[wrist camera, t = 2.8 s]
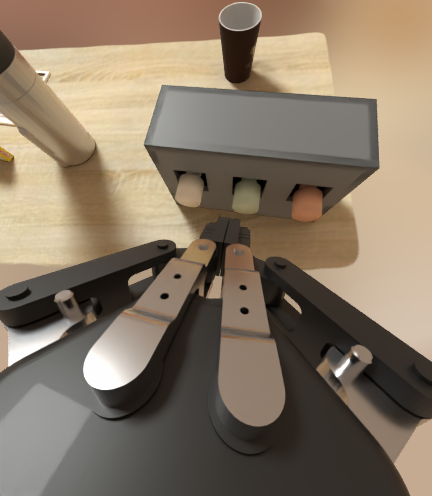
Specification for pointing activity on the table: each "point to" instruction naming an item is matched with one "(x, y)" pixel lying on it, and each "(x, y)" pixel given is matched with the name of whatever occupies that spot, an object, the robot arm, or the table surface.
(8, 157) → the candy box
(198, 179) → the cream button
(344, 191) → the console
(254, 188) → the sage button
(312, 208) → the terracotta button
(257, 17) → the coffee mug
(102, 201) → the table surface
